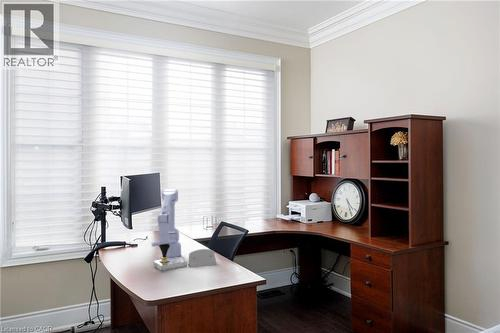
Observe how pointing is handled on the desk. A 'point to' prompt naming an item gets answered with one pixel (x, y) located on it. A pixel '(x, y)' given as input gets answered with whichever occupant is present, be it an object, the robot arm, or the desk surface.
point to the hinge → (202, 258)
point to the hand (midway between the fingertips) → (164, 256)
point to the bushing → (163, 259)
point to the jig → (170, 263)
